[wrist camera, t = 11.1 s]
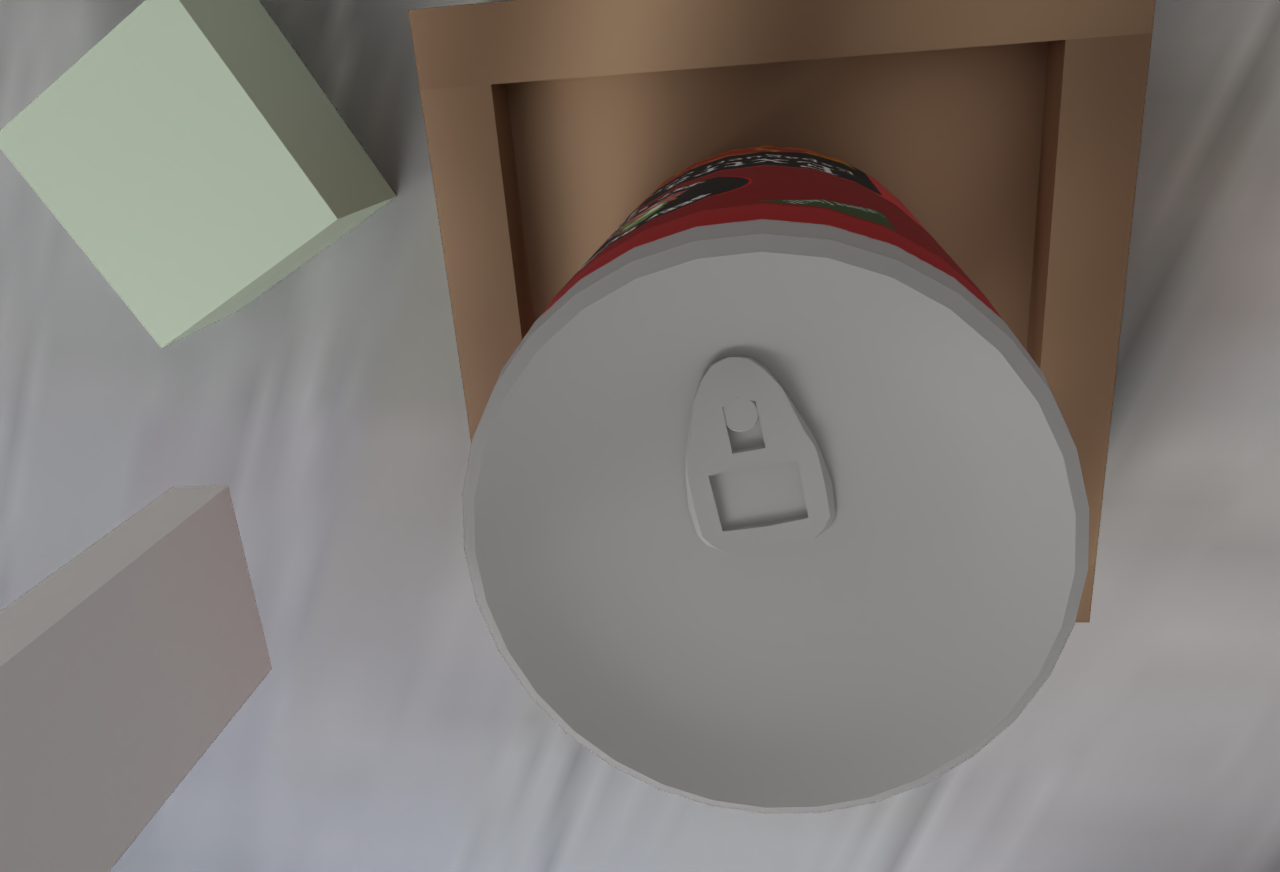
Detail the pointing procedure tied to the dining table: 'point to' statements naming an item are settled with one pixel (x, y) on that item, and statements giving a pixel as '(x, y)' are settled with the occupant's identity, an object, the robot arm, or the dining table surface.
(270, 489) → the dining table surface
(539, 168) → the wooden tray
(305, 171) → the brick
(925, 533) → the canned food
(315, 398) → the dining table surface
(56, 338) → the dining table surface
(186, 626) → the robot arm
